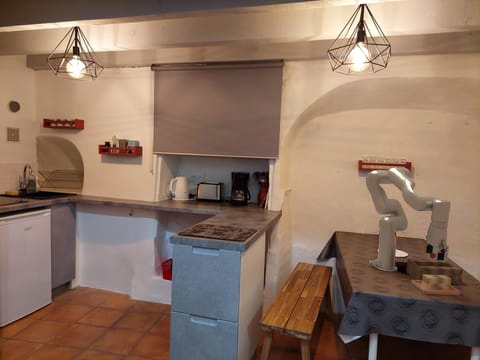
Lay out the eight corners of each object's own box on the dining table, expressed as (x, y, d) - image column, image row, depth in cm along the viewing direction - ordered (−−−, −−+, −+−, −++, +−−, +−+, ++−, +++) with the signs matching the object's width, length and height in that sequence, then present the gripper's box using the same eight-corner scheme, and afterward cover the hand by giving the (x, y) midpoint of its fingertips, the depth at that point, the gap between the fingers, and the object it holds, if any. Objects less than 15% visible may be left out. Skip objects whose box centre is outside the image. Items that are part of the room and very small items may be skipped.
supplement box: (426, 267, 197) (428, 243, 196) (430, 264, 204) (432, 241, 202) (443, 271, 191) (445, 247, 190) (447, 268, 197) (449, 244, 196)
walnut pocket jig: (419, 282, 174) (420, 267, 173) (406, 272, 188) (407, 259, 187) (461, 284, 173) (462, 269, 173) (445, 274, 187) (446, 260, 187)
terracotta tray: (424, 293, 159) (424, 290, 159) (410, 283, 172) (410, 279, 172) (460, 295, 159) (461, 291, 159) (444, 284, 172) (444, 281, 172)
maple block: (426, 289, 163) (427, 277, 163) (421, 285, 168) (422, 274, 167) (450, 290, 163) (451, 278, 163) (444, 286, 168) (445, 275, 167)
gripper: (422, 219, 171) (418, 250, 173) (441, 228, 154) (437, 262, 156) (436, 220, 171) (432, 251, 173) (457, 229, 154) (452, 263, 156)
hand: (434, 256), depth 165 cm, fingers open, 9 cm apart
